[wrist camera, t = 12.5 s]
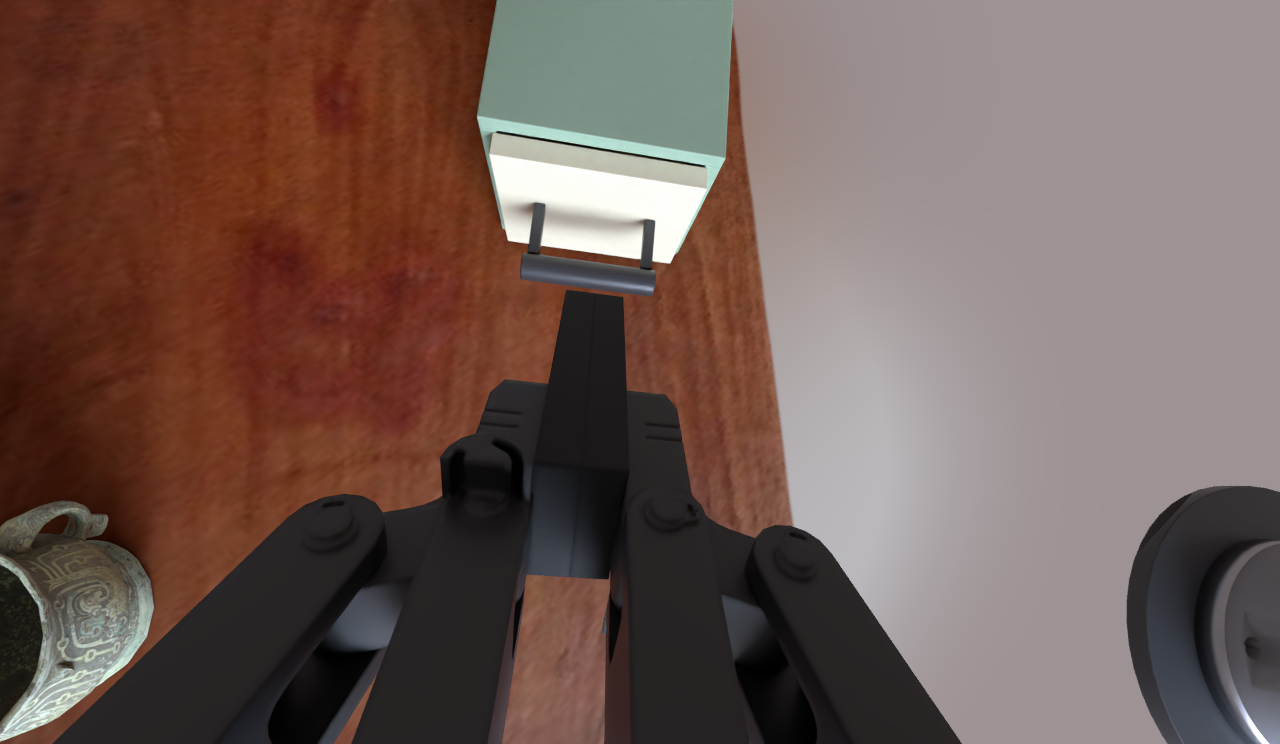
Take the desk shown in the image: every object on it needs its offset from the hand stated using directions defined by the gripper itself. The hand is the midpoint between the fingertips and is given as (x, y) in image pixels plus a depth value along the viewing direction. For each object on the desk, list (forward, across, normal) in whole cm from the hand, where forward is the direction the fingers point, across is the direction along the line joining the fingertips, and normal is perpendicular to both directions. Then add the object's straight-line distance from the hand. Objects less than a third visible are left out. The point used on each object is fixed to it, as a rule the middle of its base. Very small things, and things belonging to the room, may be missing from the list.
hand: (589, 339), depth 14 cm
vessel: (+4, -24, -22) cm, 32 cm away
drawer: (+23, 0, -1) cm, 23 cm away
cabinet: (+26, 0, +1) cm, 26 cm away
